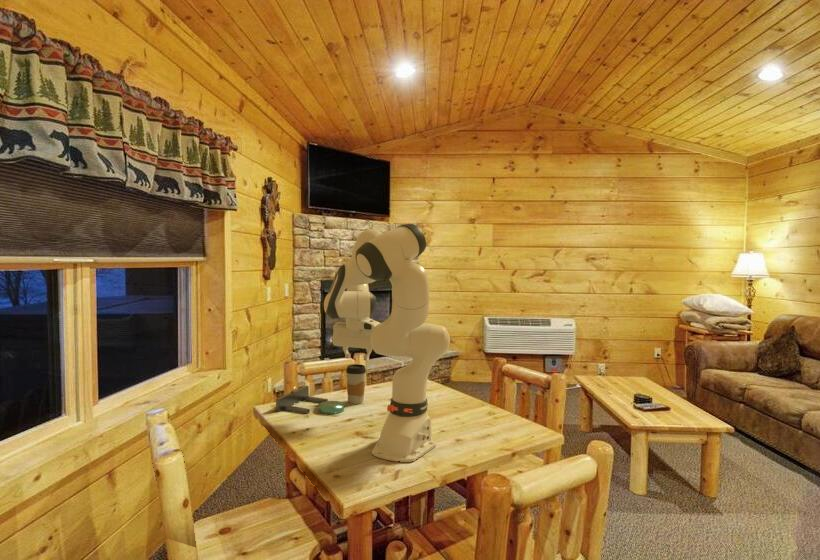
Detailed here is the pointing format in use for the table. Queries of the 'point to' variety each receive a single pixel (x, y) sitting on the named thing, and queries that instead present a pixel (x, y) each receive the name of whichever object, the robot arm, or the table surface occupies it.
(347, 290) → the robot arm
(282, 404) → the cradle
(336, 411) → the cover disc
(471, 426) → the table surface
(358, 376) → the coffee cup
